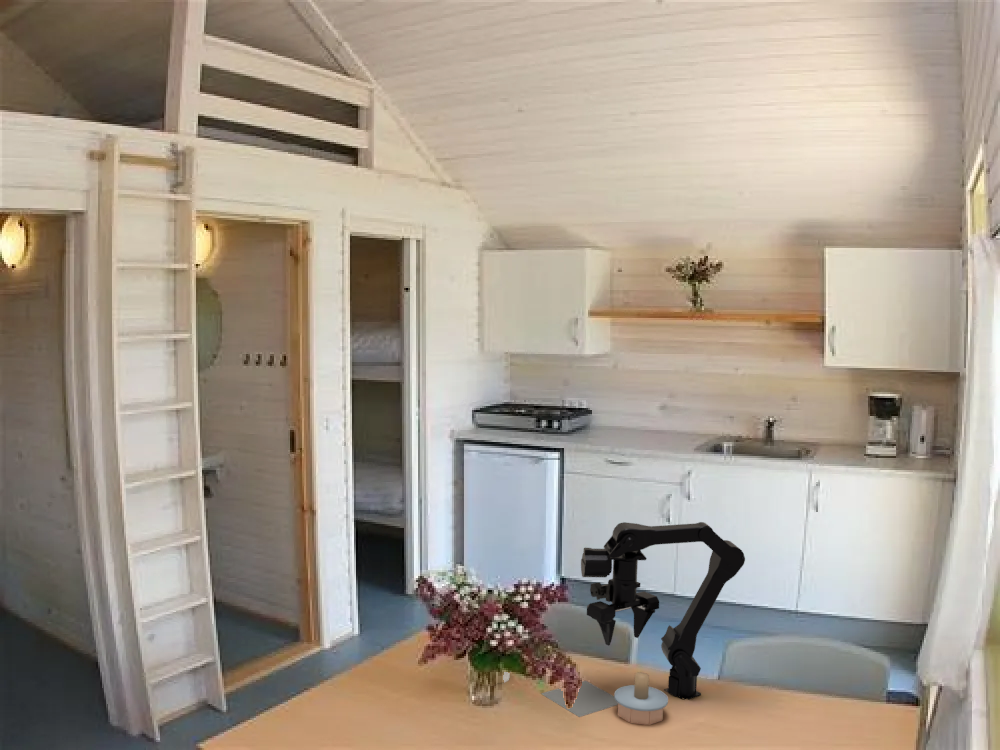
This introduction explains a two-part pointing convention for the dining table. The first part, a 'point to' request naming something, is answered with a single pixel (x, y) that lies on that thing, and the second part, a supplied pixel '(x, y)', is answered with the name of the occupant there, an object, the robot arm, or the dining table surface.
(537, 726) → the dining table surface
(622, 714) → the bowl
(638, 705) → the lid
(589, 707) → the mat
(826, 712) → the dining table surface
